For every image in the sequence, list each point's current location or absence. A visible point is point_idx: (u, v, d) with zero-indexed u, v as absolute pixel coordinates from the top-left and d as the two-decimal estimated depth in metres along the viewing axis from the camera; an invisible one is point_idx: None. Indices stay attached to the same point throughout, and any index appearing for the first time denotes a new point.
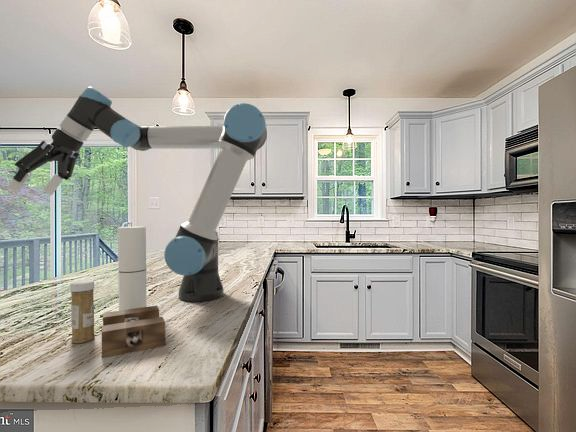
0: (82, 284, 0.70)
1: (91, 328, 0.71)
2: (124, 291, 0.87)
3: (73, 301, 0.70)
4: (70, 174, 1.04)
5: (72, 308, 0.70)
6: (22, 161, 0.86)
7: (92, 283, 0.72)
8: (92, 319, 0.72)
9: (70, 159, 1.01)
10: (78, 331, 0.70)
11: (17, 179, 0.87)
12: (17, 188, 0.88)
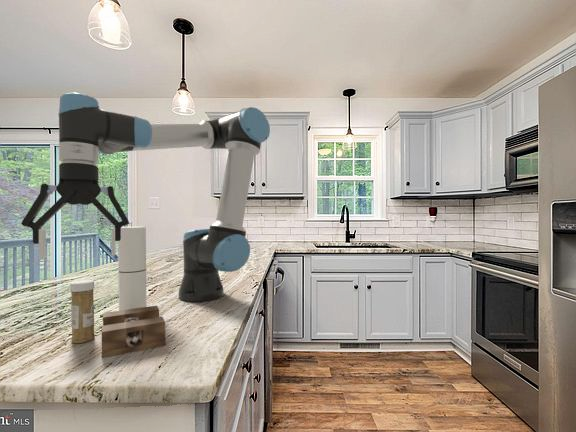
0: (82, 284, 0.70)
1: (91, 328, 0.71)
2: (124, 291, 0.87)
3: (73, 301, 0.70)
4: None
5: (72, 308, 0.70)
6: None
7: (92, 283, 0.72)
8: (92, 319, 0.72)
9: (46, 198, 0.69)
10: (78, 331, 0.70)
11: None
12: None
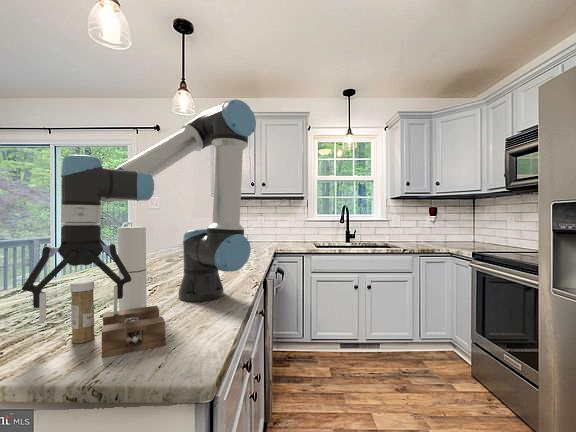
0: (82, 284, 0.70)
1: (91, 328, 0.71)
2: (124, 291, 0.87)
3: (73, 301, 0.70)
4: None
5: (72, 308, 0.70)
6: (128, 273, 0.76)
7: (92, 283, 0.72)
8: (92, 319, 0.72)
9: (47, 260, 0.69)
10: (78, 331, 0.70)
11: None
12: None
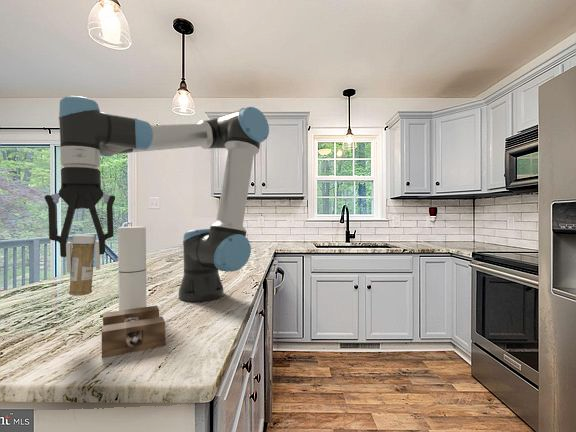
0: (84, 236, 0.70)
1: (89, 282, 0.71)
2: (124, 291, 0.87)
3: (73, 253, 0.70)
4: None
5: (72, 260, 0.70)
6: None
7: (94, 237, 0.72)
8: (91, 274, 0.72)
9: (56, 208, 0.69)
10: (76, 283, 0.69)
11: None
12: None
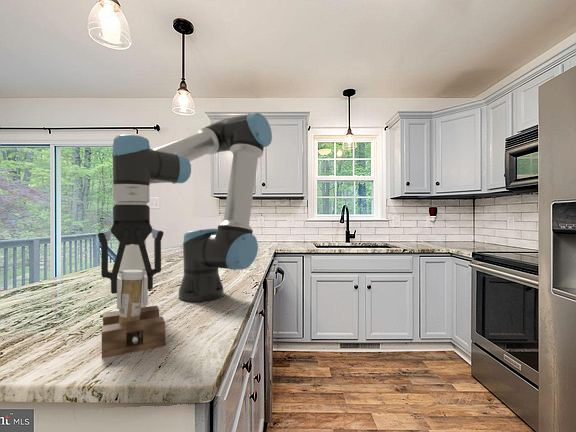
0: (134, 273, 0.70)
1: (137, 318, 0.71)
2: None
3: (124, 289, 0.70)
4: None
5: (122, 296, 0.70)
6: (160, 264, 0.75)
7: (143, 273, 0.72)
8: (139, 309, 0.72)
9: None
10: (126, 320, 0.70)
11: None
12: None
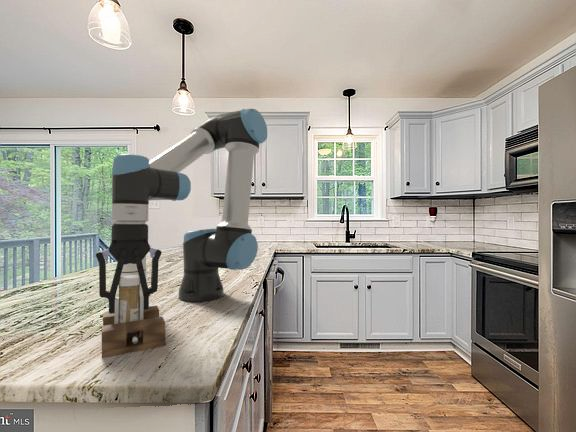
0: (130, 279, 0.70)
1: None
2: None
3: (121, 296, 0.70)
4: None
5: (120, 303, 0.70)
6: None
7: (139, 278, 0.72)
8: (138, 315, 0.72)
9: None
10: None
11: None
12: None
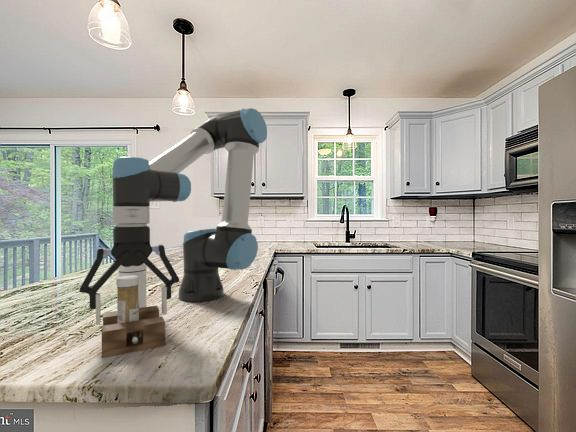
0: (128, 279, 0.70)
1: None
2: None
3: (120, 296, 0.70)
4: None
5: (119, 303, 0.70)
6: (176, 274, 0.76)
7: (137, 278, 0.72)
8: (137, 315, 0.72)
9: None
10: None
11: None
12: None
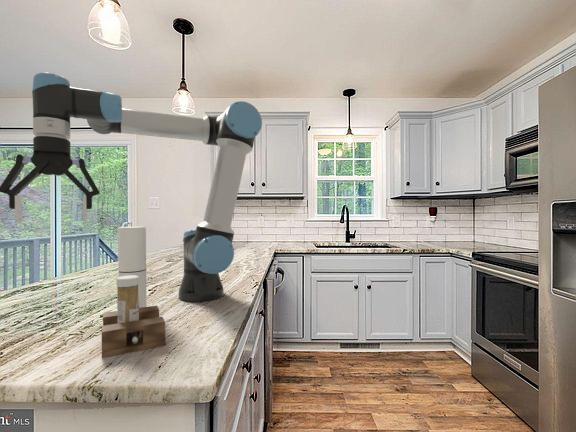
0: (129, 279, 0.70)
1: None
2: None
3: (120, 296, 0.70)
4: None
5: (119, 303, 0.70)
6: (96, 187, 0.84)
7: (137, 278, 0.72)
8: (137, 315, 0.72)
9: (21, 168, 0.76)
10: None
11: None
12: None
